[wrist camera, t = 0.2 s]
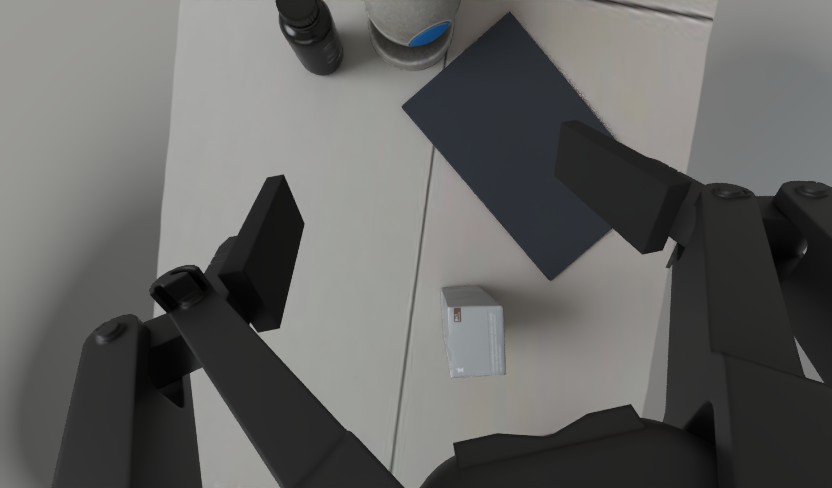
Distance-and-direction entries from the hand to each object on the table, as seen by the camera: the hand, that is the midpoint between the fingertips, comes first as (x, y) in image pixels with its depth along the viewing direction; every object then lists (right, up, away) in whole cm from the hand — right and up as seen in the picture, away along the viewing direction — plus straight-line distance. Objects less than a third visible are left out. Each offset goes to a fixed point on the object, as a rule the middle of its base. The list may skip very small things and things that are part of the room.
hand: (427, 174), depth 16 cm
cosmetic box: (+6, -14, +36) cm, 40 cm away
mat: (+17, +12, +35) cm, 41 cm away
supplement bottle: (-15, +26, +34) cm, 46 cm away
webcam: (-1, +30, +35) cm, 46 cm away
